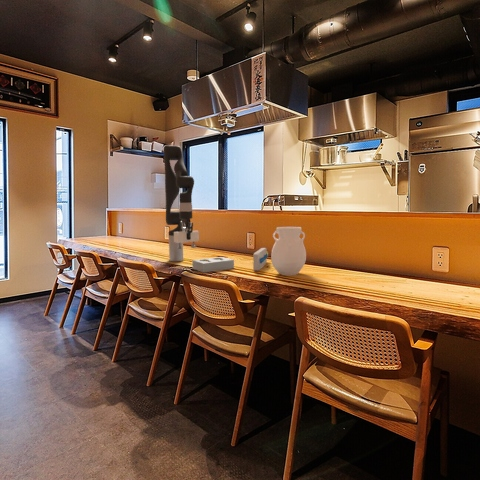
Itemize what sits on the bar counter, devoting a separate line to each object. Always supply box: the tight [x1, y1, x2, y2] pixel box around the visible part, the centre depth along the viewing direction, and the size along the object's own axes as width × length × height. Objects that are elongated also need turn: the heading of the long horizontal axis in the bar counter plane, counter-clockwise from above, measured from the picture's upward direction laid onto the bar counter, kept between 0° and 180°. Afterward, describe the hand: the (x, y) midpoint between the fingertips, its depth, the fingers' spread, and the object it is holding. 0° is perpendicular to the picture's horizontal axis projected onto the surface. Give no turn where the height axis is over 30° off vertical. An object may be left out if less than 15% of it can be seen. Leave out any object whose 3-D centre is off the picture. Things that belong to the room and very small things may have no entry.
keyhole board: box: [192, 256, 235, 273], centre depth 202 cm, size 14×20×5 cm
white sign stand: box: [174, 229, 200, 249], centre depth 205 cm, size 5×14×10 cm, turn 124°
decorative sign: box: [252, 247, 269, 272], centre depth 208 cm, size 32×4×10 cm, turn 165°
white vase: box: [270, 226, 307, 276], centre depth 184 cm, size 19×18×25 cm
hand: (186, 239), depth 205 cm, fingers closed on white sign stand, 5 cm apart
